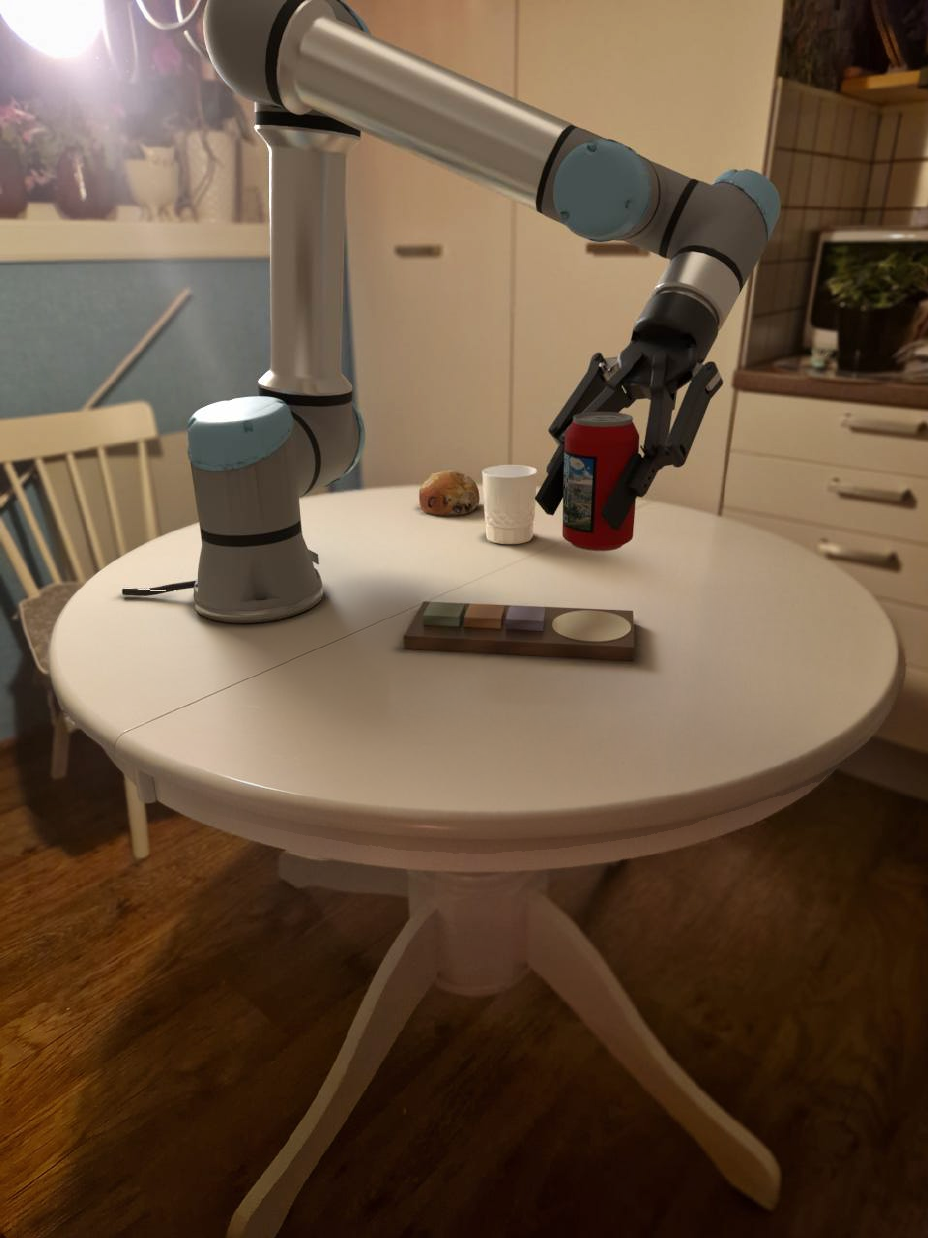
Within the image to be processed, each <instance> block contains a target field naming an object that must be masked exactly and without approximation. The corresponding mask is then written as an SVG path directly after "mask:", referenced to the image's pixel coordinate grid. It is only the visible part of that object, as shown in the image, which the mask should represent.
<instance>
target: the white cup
mask: <svg viewBox="0 0 928 1238" xmlns="http://www.w3.org/2000/svg"><path fill="white" fill-rule="evenodd" d="M481 476H482V477H481V479H482V497H483V498H482V499H483V509H484V521H485V532H486V533H485V534H486V538H487V540H488V541H489V542H492V543H495V544H499V545H519V544H524V543H527V542H530V541H531V540H532V539H533V537H534V521H535V515H536V514H535V513H536V511H535V509H536V503H537V501H536V500H535V497H536V495H537V486H538V485H537V484H538V469H537V468H535V467H533V466H528V465H522V464H499V465H491V466H488V467H485V468H484V469H482V470H481Z"/></svg>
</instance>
